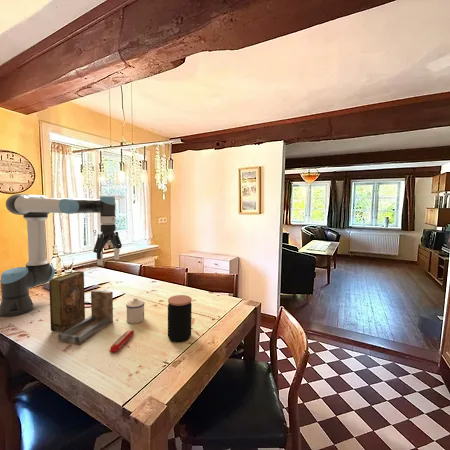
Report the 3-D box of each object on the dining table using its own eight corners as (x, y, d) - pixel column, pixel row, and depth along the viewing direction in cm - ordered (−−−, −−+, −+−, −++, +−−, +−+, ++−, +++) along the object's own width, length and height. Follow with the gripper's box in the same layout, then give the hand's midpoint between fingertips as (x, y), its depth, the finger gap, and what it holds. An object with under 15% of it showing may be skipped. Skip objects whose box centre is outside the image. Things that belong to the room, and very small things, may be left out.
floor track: (58, 341, 111) (57, 306, 110) (94, 319, 132) (93, 289, 131) (79, 345, 109) (78, 309, 107) (113, 322, 130) (112, 291, 129)
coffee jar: (180, 329, 124) (181, 293, 123) (196, 336, 118) (196, 298, 116) (162, 337, 116) (162, 299, 115) (178, 346, 109) (178, 305, 108)
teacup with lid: (147, 320, 132) (147, 299, 131) (129, 325, 126) (129, 303, 125) (138, 313, 141) (138, 292, 140) (122, 317, 136) (121, 296, 135)
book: (77, 317, 135) (76, 271, 133) (86, 318, 134) (85, 271, 132) (50, 332, 119) (48, 280, 117) (60, 333, 118) (59, 281, 116)
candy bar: (127, 334, 119) (127, 328, 119) (135, 334, 119) (135, 328, 118) (108, 354, 103) (108, 347, 103) (116, 354, 103) (116, 347, 102)
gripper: (97, 226, 126) (98, 268, 128) (127, 222, 150) (128, 258, 152) (84, 225, 128) (85, 266, 130) (116, 222, 152) (117, 257, 154)
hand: (108, 262), depth 141 cm, fingers open, 13 cm apart
